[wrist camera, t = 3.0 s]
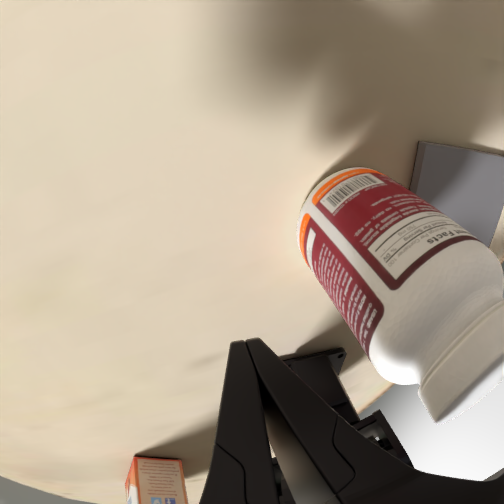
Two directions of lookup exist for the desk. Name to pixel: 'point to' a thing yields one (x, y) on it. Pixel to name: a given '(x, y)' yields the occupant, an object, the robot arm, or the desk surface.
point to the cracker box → (156, 482)
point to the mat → (461, 186)
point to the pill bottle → (408, 287)
